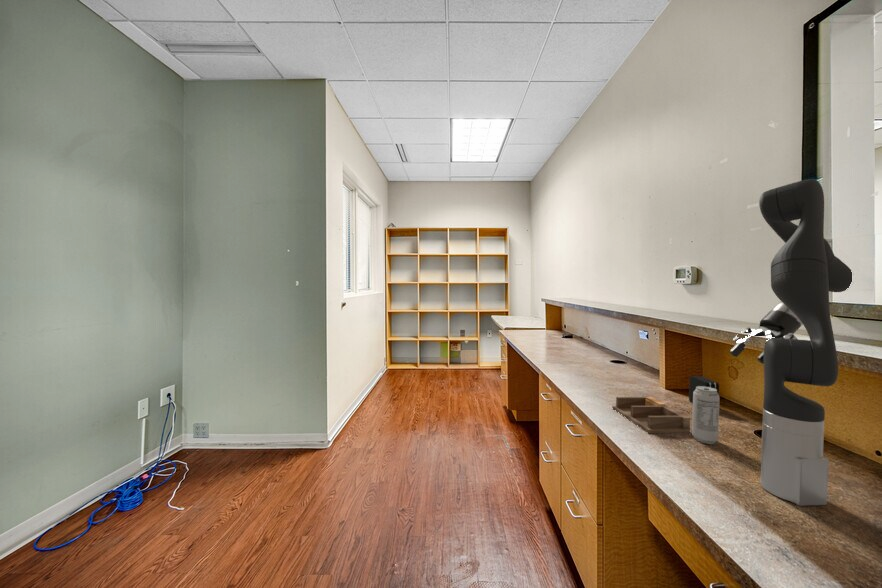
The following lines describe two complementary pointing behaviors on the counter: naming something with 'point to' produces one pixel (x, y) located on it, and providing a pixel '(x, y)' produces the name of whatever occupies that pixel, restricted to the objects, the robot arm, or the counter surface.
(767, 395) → the robot arm
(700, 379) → the electronic device
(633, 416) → the divided wooden tray
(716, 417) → the energy drink can
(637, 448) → the counter surface
